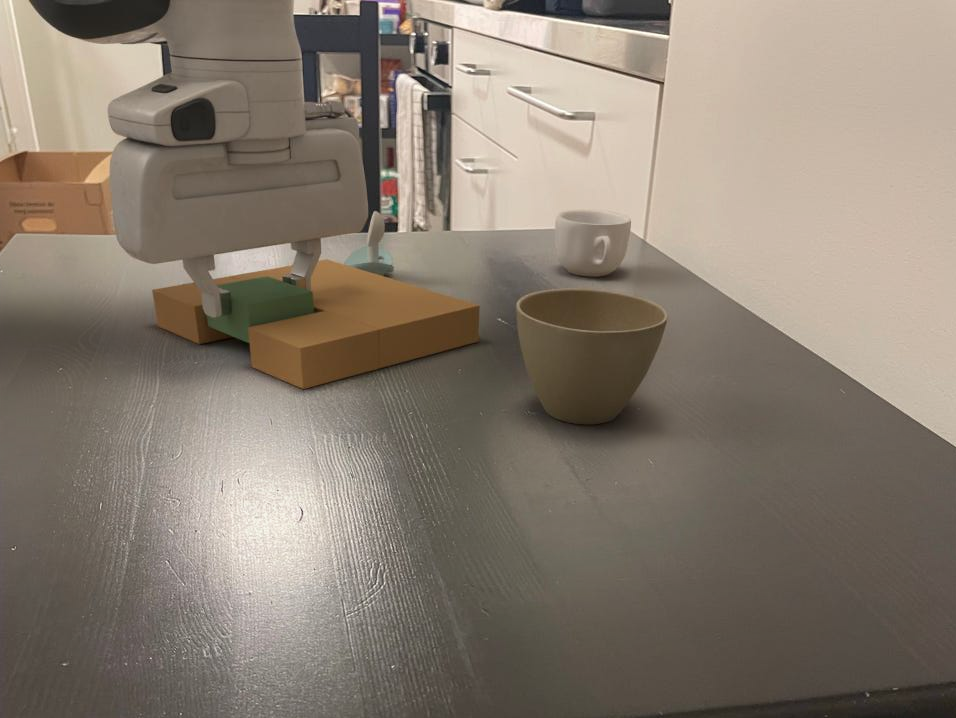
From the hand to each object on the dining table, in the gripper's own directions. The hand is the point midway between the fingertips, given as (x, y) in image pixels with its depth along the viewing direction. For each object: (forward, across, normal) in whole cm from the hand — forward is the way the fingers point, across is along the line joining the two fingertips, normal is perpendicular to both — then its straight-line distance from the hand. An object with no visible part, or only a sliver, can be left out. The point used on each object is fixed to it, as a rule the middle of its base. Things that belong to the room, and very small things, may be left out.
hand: (259, 306), depth 75 cm
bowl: (+3, -8, +26) cm, 28 cm away
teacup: (+3, -40, +1) cm, 41 cm away
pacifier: (+3, -20, -12) cm, 24 cm away
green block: (+2, 0, 0) cm, 2 cm away
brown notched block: (+3, -5, 0) cm, 6 cm away
